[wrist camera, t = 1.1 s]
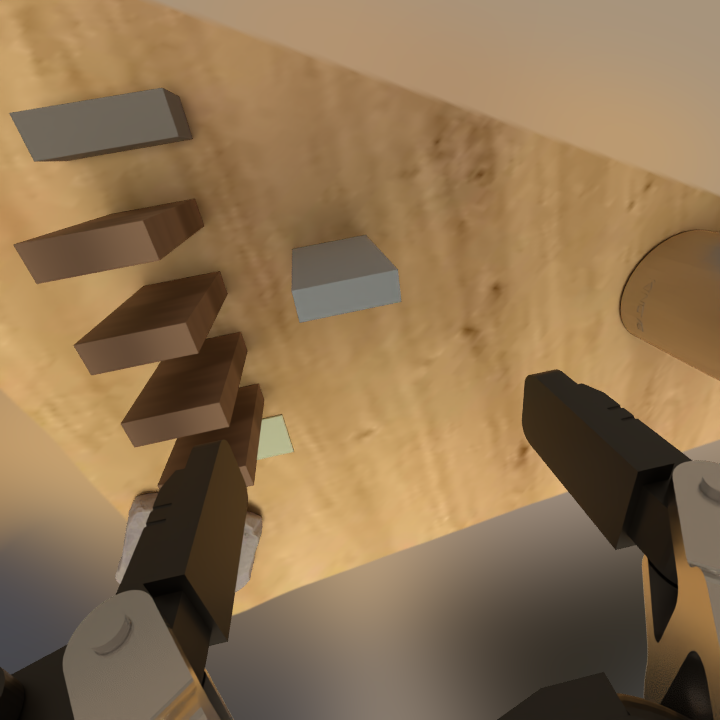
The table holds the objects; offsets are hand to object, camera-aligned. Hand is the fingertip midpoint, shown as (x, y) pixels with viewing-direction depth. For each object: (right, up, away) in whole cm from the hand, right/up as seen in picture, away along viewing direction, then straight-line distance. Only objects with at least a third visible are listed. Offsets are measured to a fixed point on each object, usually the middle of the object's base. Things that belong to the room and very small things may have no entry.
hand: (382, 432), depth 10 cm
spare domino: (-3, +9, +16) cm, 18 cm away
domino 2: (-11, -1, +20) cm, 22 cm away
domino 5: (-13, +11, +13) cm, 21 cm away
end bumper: (-14, +15, +11) cm, 23 cm away
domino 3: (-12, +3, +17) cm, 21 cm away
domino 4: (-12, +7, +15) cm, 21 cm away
